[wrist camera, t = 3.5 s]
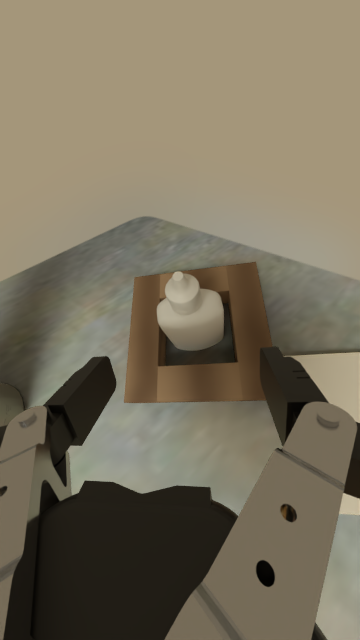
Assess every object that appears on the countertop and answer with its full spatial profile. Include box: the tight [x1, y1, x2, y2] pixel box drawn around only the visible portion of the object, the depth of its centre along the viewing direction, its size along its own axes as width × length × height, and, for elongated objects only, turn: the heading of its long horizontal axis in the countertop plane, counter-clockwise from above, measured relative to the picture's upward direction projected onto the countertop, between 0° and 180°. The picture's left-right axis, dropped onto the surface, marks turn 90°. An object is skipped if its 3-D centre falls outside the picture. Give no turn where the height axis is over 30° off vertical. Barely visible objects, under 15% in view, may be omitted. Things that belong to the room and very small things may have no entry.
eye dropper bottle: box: [157, 271, 224, 351], centre depth 18 cm, size 4×6×12 cm
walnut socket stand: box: [124, 262, 272, 403], centre depth 22 cm, size 14×14×3 cm
